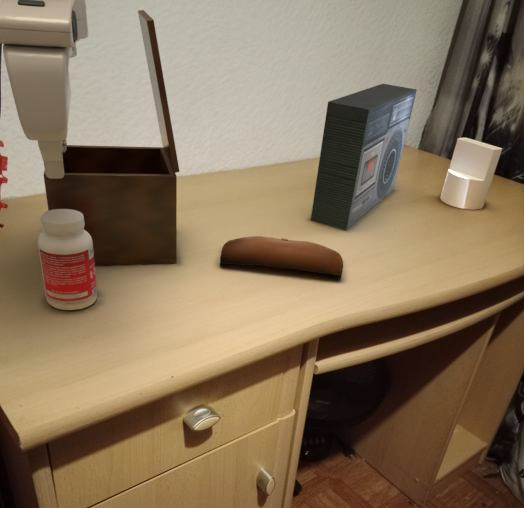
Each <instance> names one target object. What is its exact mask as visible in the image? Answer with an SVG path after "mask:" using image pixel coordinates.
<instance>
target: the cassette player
mask: <svg viewBox="0 0 524 508" xmlns="http://www.w3.org/2000/svg"><path fill="white" fill-rule="evenodd" d="M417 91H418V89H416V88H411V87H405V86H399V85H393V84H389V83H388V84H387V83H381V84H378V85H374V86H371V87H369V88H365V89H362V90H359V91H357V92H353V93H351V94H347V95H344V96H341V97H338V98H335V99H332V100H328V102H327V106H326V112H325V113H326V114H325V119H324V125H323V133H322V141H321V146H320V154H319V160H318V166H317V167H318V168H317V173H316V179H315V188H314V194H313V200H312V208H311V214H310V221H311V222H314V223H318V224H321V225H325V226H328V227H333V228H336V229H339V230H343V231H347V230H349V229H350V228H351V227H353V225H355V224H356V223H357V222H359V220H360V219H362V218H363V217H364V216H365V215H367V213H369V212H370V211H371V210H372V209H373V208H374V207H376V206H377V205H378V204H379V203H380V202H382V200H384V199H385V198H386V197H387V196H388V195H390V193H392V192H393V191H394V190H395V186H396V181H397V177H398V172H399V168H400V164H401V159H402V156H403V151H404V146H405V142H406V138H407V133H408V129H409V126H410V122H411V117H412V112H413V109H414V108H413V107H414V103H415V99H416V95H417Z"/></svg>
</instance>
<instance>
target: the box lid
mask: <svg viewBox="0 0 524 508" xmlns="http://www.w3.org/2000/svg"><path fill="white" fill-rule="evenodd" d="M137 15H138V20H139V26H140V30H141V31H140V32H141V36H142V41H143V47H144V52H145V58H146V64H147V69H148V74H149V80H150V86H151V90H152V97H153V101H154V107H155V112H156V118H157V124H158V129H159V134H160V140H161V144H162V147H164V150H165V152H166V155H167V157H168V160H169V162H170V165H171V167H172V170H173V172H174V173H175V174H176V173H180V165H179V160H178V155H177V149H176V148H177V147H176V143H175V137H174V132H173V125H172V124H173V123H172V120H171V113H170V108H169V102H168V96H167V90H166V84H165V79H164V72H163V67H162V61H161V56H160V49H159V44H158V38H157V31H156V26H155V20H154V19H153V18H152V17H151V16H150V15H149V14H148V13H147V12H146V10H144V9H140V10H139V9H138V10H137Z"/></svg>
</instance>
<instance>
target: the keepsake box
mask: <svg viewBox="0 0 524 508" xmlns="http://www.w3.org/2000/svg"><path fill="white" fill-rule="evenodd" d="M62 153H63V162H64V170H65V172H64V177H63V178H61V179H50V178H48V177H47V176H46V175H45V169H44V171H43V182H44V188H45V189H44V190H45V196H46V204H47V211H49V210H54V209H72V210H76V211H79V212H81V213H82V214H83V216H84V223H85V226H84V230H85V231H87V232H88V233H89V234H90V236H91V238H92V242H93V252H94V262H95V267H99V266H100V267H102V266H129V265H130V266H132V265H134V266H135V265H160V264H161V265H165V264H177V243H178V242H177V241H178V240H177V235H178V234H177V233H178V232H177V230H178V229H177V227H178V226H177V224H178V223H177V222H178V221H177V219H178V217H177V213H178V211H177V209H178V208H177V200H178V199H177V195H178V193H177V190H178V189H177V187H178V186H177V185H178V183H177V182H178V181H177V179H178V178H177V174H176V173H174V172H173V170H172V167H171V165H170V162H169V160H168V157H167V155H166V152H165V150H164V147H163V146H161V147H160V146H159V147H158V146H126V145H125V146H121V145H118V146H116V145H82V144H81V145H77V144H67V149H66V151H65V152H62Z"/></svg>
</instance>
